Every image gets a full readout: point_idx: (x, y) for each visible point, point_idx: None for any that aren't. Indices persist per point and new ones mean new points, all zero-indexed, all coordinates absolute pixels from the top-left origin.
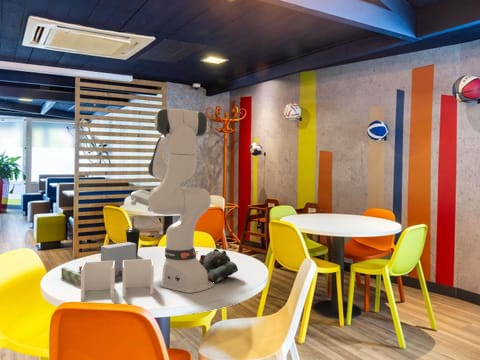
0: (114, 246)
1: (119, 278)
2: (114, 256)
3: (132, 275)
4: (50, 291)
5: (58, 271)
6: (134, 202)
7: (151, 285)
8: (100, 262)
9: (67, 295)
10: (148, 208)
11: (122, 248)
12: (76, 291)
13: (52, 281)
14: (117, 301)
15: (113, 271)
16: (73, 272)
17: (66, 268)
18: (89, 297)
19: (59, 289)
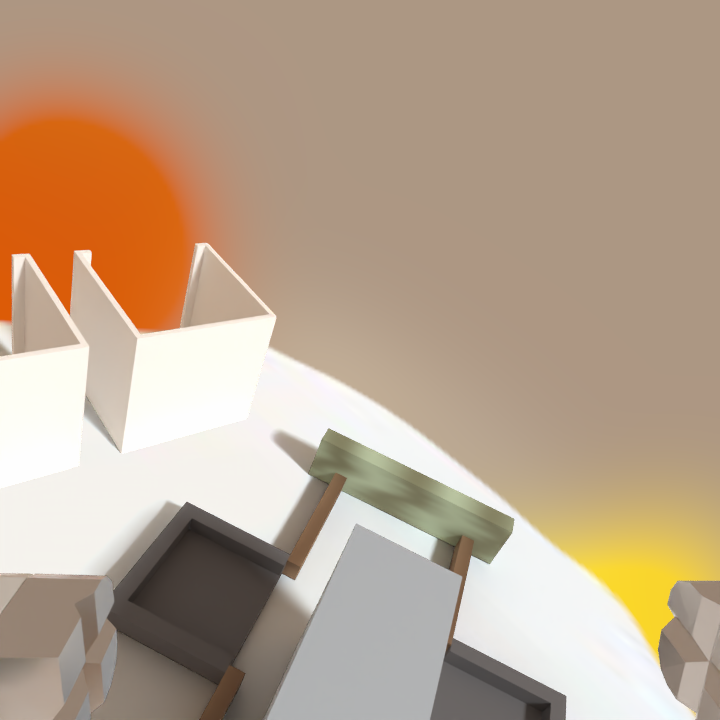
0: (356, 595)
1: (154, 543)
2: (312, 616)
3: (22, 428)
4: (359, 398)
5: (611, 641)
6: (697, 603)
7: None
8: (205, 328)
9: (267, 372)
10: (80, 581)
11: (297, 651)
12: (267, 405)
13: (465, 492)
14: None
15: (74, 266)
16: (391, 463)
17: (485, 515)
18: None
19: (348, 417)
